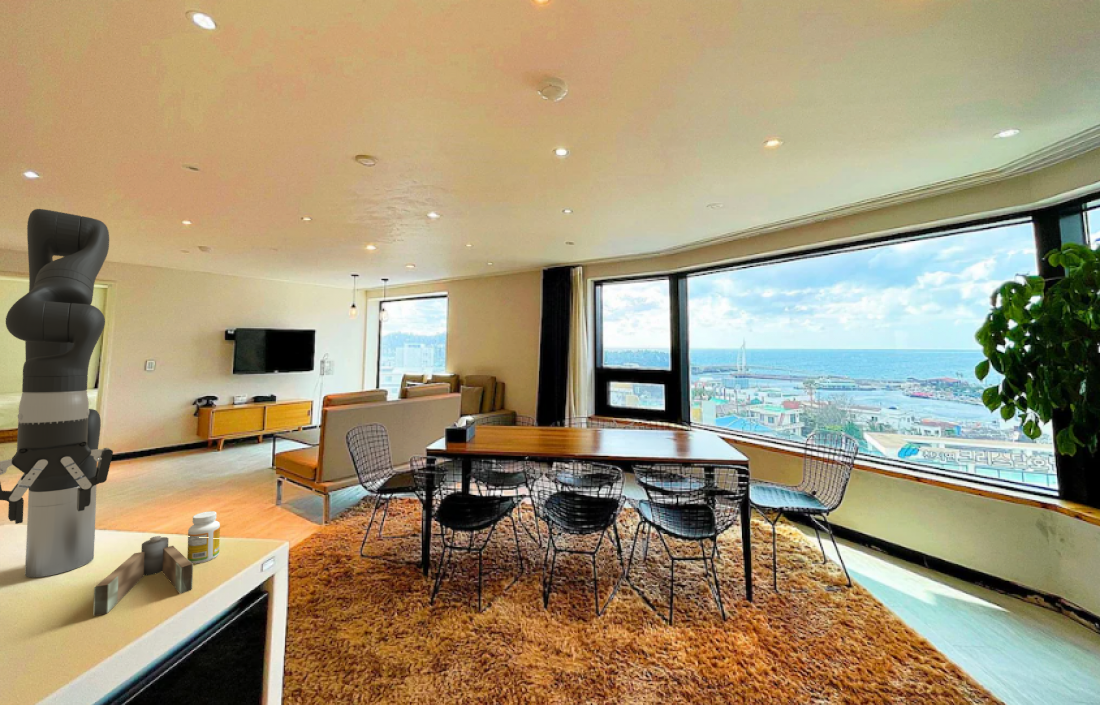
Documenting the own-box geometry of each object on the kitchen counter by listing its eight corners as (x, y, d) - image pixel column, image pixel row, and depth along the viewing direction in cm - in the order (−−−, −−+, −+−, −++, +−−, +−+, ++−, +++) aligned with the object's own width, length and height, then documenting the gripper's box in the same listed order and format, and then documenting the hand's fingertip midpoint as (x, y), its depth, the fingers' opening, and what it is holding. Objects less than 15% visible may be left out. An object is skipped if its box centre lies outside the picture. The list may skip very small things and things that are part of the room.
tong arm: (132, 578, 80) (133, 553, 80) (144, 576, 80) (145, 551, 81) (93, 616, 68) (94, 586, 68) (107, 613, 69) (108, 584, 69)
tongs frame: (138, 571, 82) (139, 538, 83) (167, 562, 86) (168, 531, 86) (160, 600, 73) (162, 563, 73) (192, 589, 76) (193, 554, 76)
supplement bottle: (211, 550, 92) (212, 508, 92) (224, 555, 90) (225, 512, 90) (182, 560, 87) (183, 516, 87) (194, 566, 85) (196, 520, 85)
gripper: (112, 411, 76) (108, 499, 76) (-19, 420, 64) (-24, 524, 64) (120, 415, 72) (116, 508, 71) (-19, 425, 60) (-24, 536, 59)
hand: (50, 515), depth 68 cm, fingers open, 6 cm apart
